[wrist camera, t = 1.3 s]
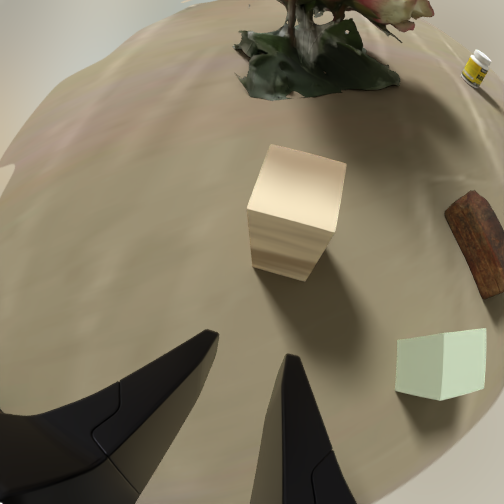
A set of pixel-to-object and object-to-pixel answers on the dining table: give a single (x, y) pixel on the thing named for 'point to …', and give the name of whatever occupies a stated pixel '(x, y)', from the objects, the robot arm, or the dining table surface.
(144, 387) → the robot arm
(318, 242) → the maple block
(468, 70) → the supplement bottle
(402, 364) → the sage block
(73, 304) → the dining table surface
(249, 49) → the rose bouquet
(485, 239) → the brick
